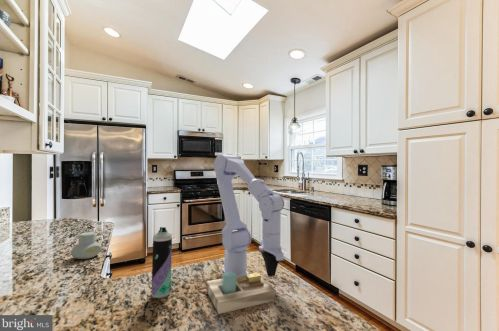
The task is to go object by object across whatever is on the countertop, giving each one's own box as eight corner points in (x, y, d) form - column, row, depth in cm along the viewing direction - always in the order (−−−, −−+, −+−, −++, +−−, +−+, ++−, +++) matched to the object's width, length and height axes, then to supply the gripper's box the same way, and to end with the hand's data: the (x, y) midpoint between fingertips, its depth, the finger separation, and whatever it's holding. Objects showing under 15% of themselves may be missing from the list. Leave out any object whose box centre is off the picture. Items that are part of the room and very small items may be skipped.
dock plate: (206, 291, 72) (206, 278, 72) (255, 281, 79) (255, 269, 79) (218, 314, 60) (218, 299, 61) (275, 300, 67) (275, 287, 68)
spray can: (151, 299, 67) (153, 229, 68) (151, 290, 72) (153, 225, 73) (171, 295, 69) (173, 228, 70) (170, 287, 74) (171, 224, 75)
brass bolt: (245, 282, 72) (245, 274, 72) (257, 280, 73) (257, 272, 73) (248, 286, 69) (249, 277, 69) (260, 283, 71) (261, 275, 71)
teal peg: (220, 296, 69) (221, 272, 69) (233, 294, 71) (233, 270, 71) (224, 303, 65) (224, 278, 66) (237, 301, 67) (238, 276, 67)
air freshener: (93, 251, 107) (94, 229, 107) (105, 254, 103) (105, 231, 104) (66, 259, 97) (67, 235, 97) (78, 263, 94) (79, 237, 94)
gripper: (252, 227, 80) (252, 267, 80) (267, 239, 66) (267, 287, 66) (272, 226, 82) (271, 265, 82) (290, 237, 68) (289, 284, 68)
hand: (271, 275), depth 74 cm, fingers closed
